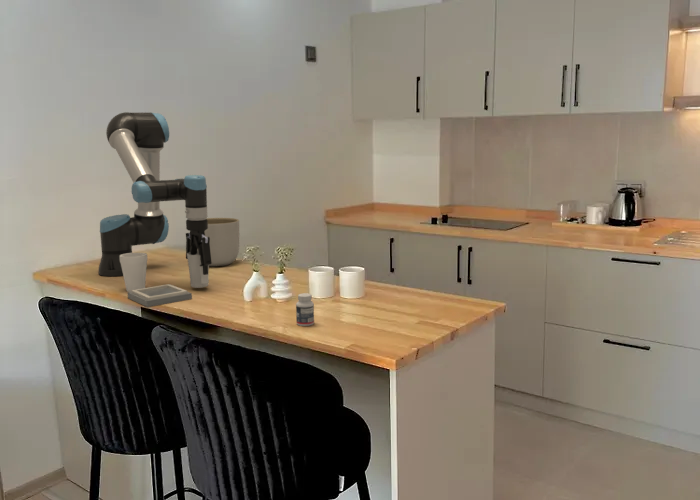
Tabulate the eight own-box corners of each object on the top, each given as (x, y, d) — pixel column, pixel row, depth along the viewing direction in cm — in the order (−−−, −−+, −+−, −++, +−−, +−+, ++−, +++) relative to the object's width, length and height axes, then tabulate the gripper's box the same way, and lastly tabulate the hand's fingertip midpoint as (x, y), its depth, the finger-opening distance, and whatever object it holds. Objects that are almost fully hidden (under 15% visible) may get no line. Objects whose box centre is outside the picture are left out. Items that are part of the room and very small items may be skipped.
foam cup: (151, 290, 235) (149, 255, 233) (125, 294, 231) (122, 258, 228) (145, 285, 243) (143, 251, 241) (119, 289, 239) (117, 254, 237)
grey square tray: (127, 298, 225) (127, 290, 225) (171, 290, 235) (170, 283, 235) (147, 307, 213) (146, 298, 213) (191, 298, 223) (191, 290, 223)
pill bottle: (296, 321, 196) (295, 292, 194) (313, 321, 196) (313, 292, 194) (296, 326, 190) (295, 297, 189) (314, 326, 191) (313, 296, 189)
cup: (205, 288, 233) (203, 255, 231) (184, 287, 235) (183, 254, 232) (214, 283, 241) (213, 251, 238) (194, 282, 242) (192, 250, 240)
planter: (235, 268, 273) (234, 223, 270) (186, 269, 274) (184, 224, 270) (244, 259, 294) (242, 217, 291) (198, 259, 294) (196, 217, 291)
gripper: (174, 216, 238) (177, 277, 242) (200, 223, 223) (203, 287, 227) (192, 214, 243) (195, 274, 247) (220, 221, 228) (222, 284, 232)
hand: (199, 281), depth 237 cm, fingers closed on cup, 7 cm apart
